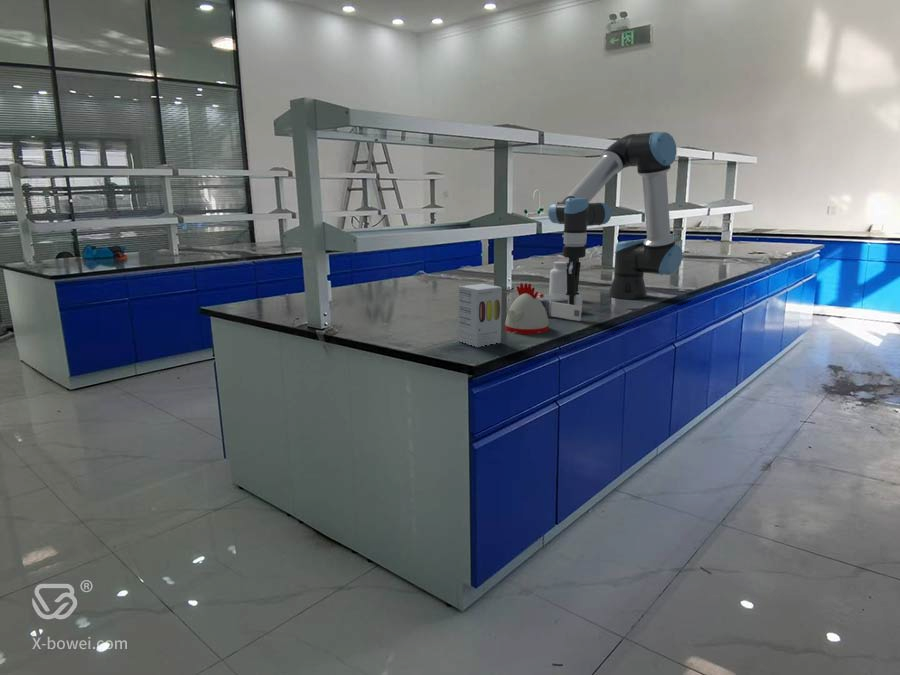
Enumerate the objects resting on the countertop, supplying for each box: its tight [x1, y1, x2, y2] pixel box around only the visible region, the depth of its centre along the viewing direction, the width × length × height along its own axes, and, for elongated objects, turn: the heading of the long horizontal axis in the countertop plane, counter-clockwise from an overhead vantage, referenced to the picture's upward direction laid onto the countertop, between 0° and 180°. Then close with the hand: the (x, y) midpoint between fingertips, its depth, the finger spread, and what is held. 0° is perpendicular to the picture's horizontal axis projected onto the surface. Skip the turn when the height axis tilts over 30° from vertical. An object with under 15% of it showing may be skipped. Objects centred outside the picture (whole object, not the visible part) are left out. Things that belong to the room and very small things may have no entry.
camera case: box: [537, 292, 584, 318], centre depth 220 cm, size 19×10×7 cm, turn 118°
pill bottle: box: [548, 261, 568, 294], centre depth 246 cm, size 8×8×15 cm
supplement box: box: [458, 283, 503, 348], centre depth 177 cm, size 10×9×17 cm
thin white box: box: [548, 301, 582, 322], centre depth 209 cm, size 13×2×5 cm, turn 46°
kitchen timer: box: [504, 282, 550, 335], centre depth 194 cm, size 14×14×15 cm
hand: (571, 313), depth 209 cm, fingers closed
